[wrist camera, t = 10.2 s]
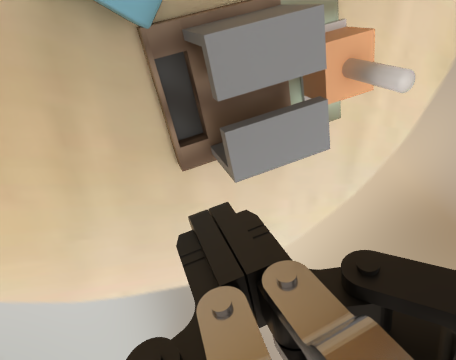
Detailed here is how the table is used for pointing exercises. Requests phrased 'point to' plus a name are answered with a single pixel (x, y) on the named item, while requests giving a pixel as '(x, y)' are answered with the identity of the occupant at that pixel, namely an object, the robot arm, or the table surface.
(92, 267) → the table surface
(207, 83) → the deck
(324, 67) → the tunnel
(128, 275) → the table surface
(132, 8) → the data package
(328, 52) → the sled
